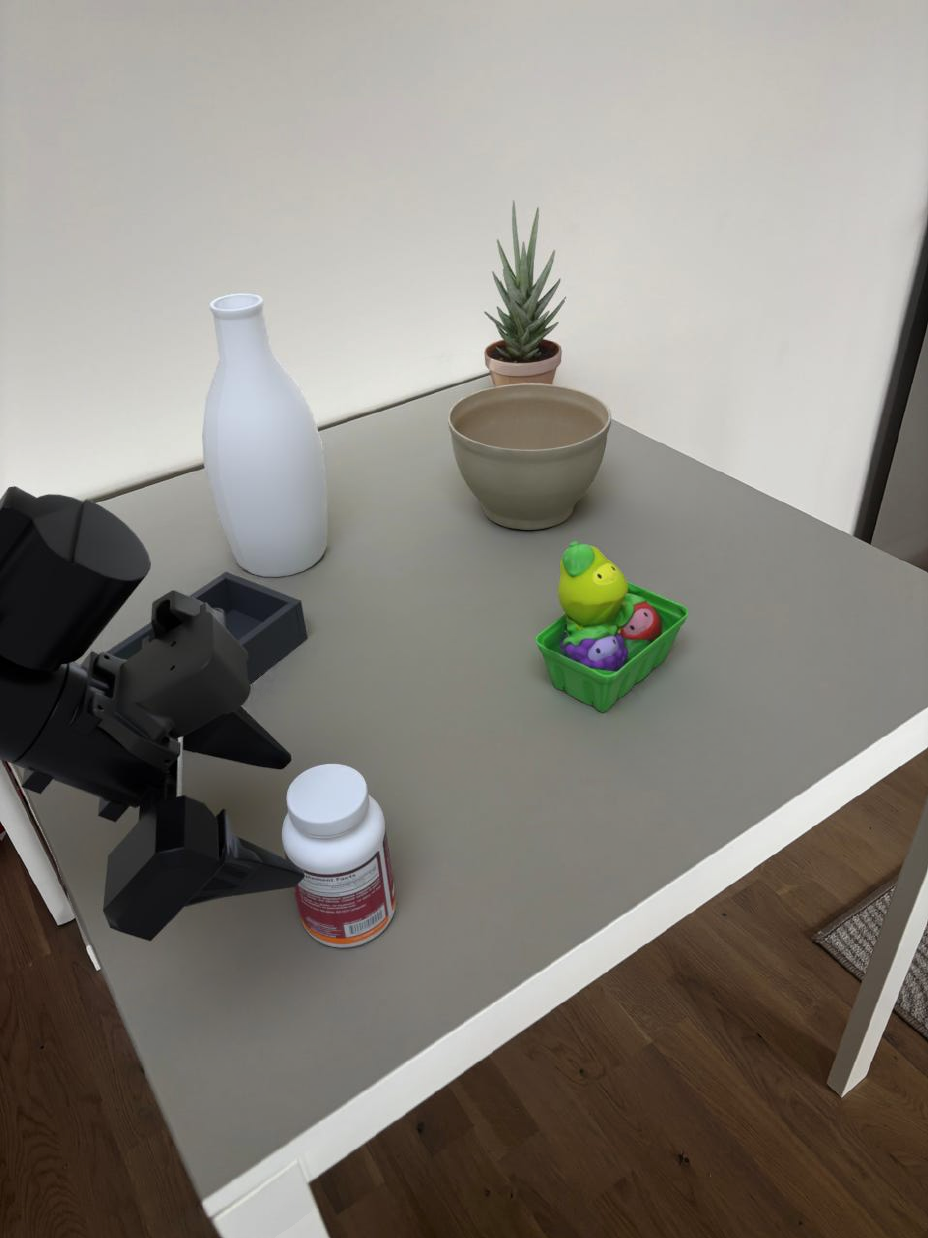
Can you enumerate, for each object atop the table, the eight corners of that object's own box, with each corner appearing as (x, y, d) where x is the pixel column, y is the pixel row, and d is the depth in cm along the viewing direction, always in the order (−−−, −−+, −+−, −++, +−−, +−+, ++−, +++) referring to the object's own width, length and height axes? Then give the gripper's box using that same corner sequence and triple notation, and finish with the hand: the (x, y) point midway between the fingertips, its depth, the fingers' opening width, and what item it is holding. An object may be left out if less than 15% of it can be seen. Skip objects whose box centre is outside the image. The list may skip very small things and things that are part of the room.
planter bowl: (624, 539, 97) (631, 439, 91) (465, 558, 95) (461, 458, 89) (584, 466, 110) (587, 374, 103) (443, 481, 108) (438, 389, 102)
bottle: (348, 570, 94) (314, 311, 79) (234, 595, 92) (176, 332, 77) (323, 516, 103) (288, 273, 88) (218, 538, 100) (163, 291, 85)
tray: (158, 757, 74) (146, 717, 72) (82, 716, 79) (67, 677, 76) (308, 638, 86) (301, 600, 83) (233, 608, 90) (225, 571, 88)
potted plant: (531, 383, 129) (532, 185, 115) (575, 407, 123) (581, 200, 108) (468, 402, 125) (460, 199, 111) (510, 428, 119) (507, 216, 104)
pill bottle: (325, 862, 66) (303, 743, 59) (411, 884, 64) (397, 764, 57) (283, 938, 61) (253, 818, 54) (373, 963, 59) (354, 843, 53)
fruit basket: (606, 729, 75) (614, 611, 68) (519, 682, 80) (518, 567, 73) (687, 659, 81) (701, 544, 75) (601, 618, 86) (608, 508, 80)
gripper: (113, 728, 38) (410, 855, 46) (136, 502, 53) (358, 629, 61) (-28, 896, 42) (272, 987, 50) (31, 641, 57) (254, 743, 65)
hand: (293, 817), depth 56 cm, fingers open, 9 cm apart
